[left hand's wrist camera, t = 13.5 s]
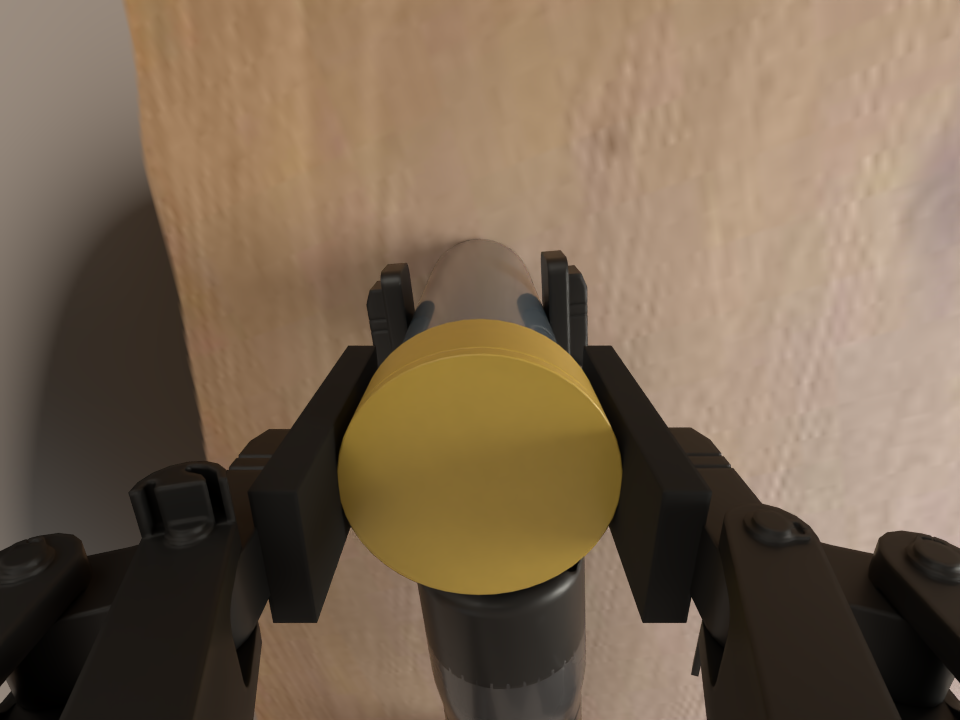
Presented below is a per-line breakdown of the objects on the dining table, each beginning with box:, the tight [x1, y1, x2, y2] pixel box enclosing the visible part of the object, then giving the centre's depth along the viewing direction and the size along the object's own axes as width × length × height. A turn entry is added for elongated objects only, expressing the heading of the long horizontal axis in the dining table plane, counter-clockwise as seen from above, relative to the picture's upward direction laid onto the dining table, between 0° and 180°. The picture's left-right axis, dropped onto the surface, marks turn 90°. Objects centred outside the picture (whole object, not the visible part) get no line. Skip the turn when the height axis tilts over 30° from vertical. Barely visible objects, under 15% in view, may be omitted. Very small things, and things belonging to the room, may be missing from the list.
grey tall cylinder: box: [402, 239, 558, 344], centre depth 18 cm, size 5×5×16 cm
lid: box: [337, 319, 622, 595], centre depth 11 cm, size 6×6×2 cm
